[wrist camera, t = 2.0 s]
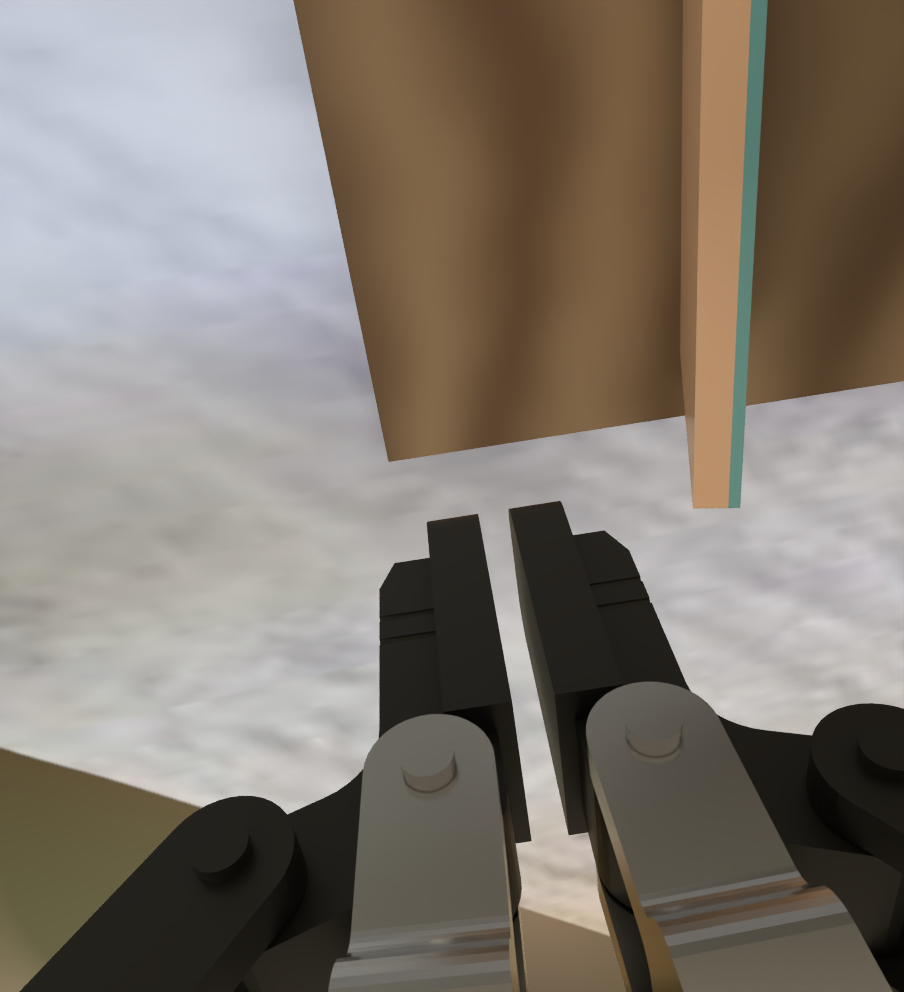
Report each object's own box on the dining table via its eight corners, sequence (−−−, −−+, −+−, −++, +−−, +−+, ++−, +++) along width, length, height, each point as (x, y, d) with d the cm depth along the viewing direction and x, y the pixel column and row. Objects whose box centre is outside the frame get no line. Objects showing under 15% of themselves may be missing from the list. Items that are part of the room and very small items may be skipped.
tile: (683, -29, 24) (726, -36, 24) (680, 354, 31) (714, 352, 30) (702, -7, 16) (768, -17, 16) (693, 508, 23) (740, 507, 22)
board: (388, 443, 34) (388, 475, 32) (280, -86, 25) (270, -91, 23) (971, 351, 34) (1012, 378, 32) (1089, -219, 25) (1159, -238, 22)
